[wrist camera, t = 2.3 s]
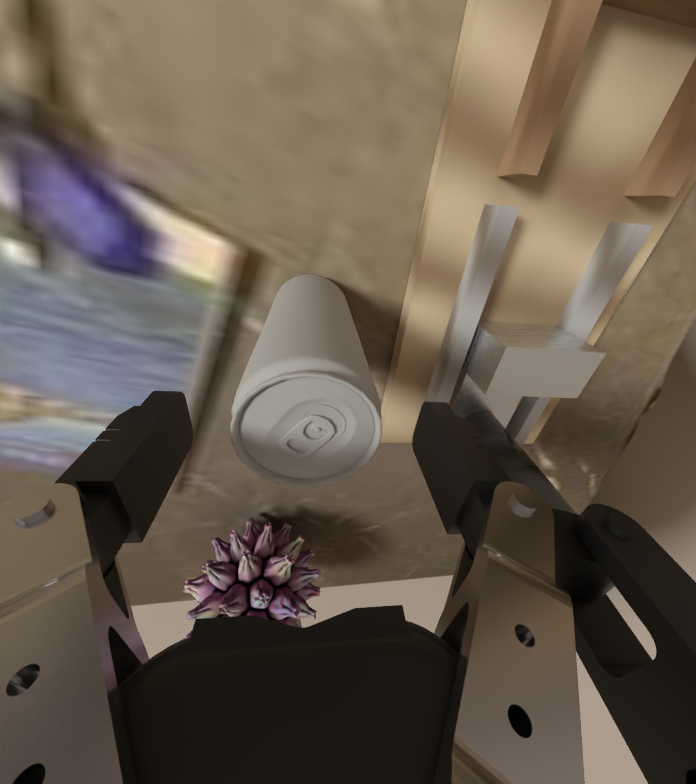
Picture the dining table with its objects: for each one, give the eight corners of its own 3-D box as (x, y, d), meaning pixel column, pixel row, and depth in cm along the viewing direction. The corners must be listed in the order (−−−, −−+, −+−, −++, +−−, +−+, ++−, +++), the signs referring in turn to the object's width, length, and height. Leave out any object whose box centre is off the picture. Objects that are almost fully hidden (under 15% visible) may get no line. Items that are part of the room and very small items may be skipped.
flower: (264, 566, 36) (246, 707, 26) (181, 525, 30) (115, 689, 20) (340, 529, 33) (353, 670, 23) (266, 475, 27) (239, 637, 17)
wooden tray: (478, -51, 11) (534, -137, 8) (757, 25, 13) (879, -23, 10) (376, 430, 25) (384, 460, 22) (522, 432, 27) (547, 460, 24)
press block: (471, 319, 18) (598, 416, 10) (555, 326, 19) (735, 420, 11) (431, 433, 23) (494, 558, 15) (499, 434, 24) (593, 553, 16)
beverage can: (363, 310, 19) (417, 433, 9) (313, 358, 21) (313, 507, 11) (308, 253, 17) (300, 332, 7) (257, 312, 18) (190, 445, 8)
